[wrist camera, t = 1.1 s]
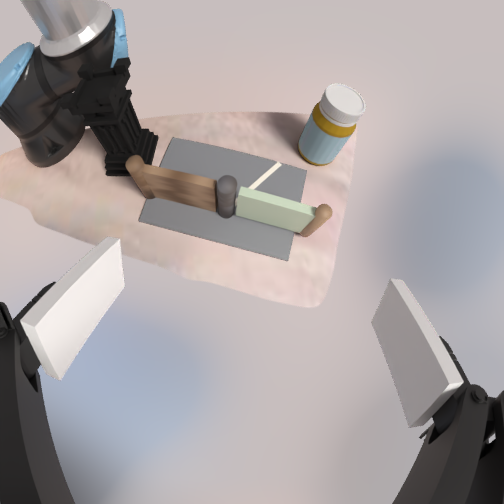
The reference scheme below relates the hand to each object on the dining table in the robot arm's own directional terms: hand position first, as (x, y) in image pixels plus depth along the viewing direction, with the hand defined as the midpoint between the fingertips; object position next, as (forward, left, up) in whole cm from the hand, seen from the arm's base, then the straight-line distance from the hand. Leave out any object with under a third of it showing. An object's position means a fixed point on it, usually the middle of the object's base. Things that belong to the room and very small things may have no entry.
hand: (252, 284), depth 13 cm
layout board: (-5, +16, -29) cm, 33 cm away
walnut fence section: (-11, +13, -28) cm, 33 cm away
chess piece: (-23, +19, -29) cm, 42 cm away
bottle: (+8, +29, -29) cm, 41 cm away
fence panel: (+3, +13, -27) cm, 30 cm away
